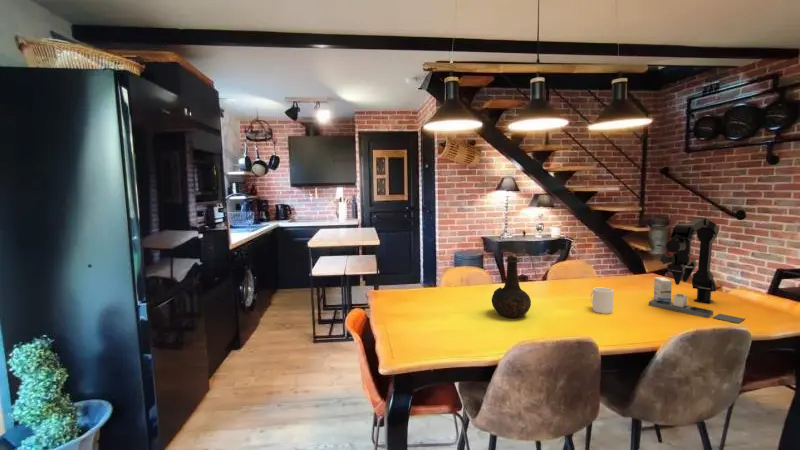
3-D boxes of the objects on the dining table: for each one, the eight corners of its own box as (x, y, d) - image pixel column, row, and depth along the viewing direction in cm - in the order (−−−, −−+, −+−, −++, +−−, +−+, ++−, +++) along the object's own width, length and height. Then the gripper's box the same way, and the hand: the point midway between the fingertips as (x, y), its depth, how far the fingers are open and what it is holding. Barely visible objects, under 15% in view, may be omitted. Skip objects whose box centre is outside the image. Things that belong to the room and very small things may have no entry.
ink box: (671, 303, 194) (672, 281, 193) (660, 303, 195) (661, 280, 194) (663, 299, 203) (664, 277, 202) (653, 298, 204) (654, 276, 203)
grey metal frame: (654, 302, 196) (654, 299, 196) (712, 314, 177) (713, 310, 176) (648, 305, 192) (648, 301, 192) (707, 317, 173) (708, 313, 172)
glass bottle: (503, 306, 193) (504, 251, 191) (537, 314, 180) (538, 255, 178) (484, 315, 181) (484, 256, 178) (518, 324, 168) (519, 261, 166)
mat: (719, 314, 177) (719, 313, 177) (744, 319, 170) (744, 318, 170) (712, 318, 172) (712, 317, 172) (738, 323, 165) (738, 322, 165)
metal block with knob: (676, 308, 187) (676, 292, 186) (686, 310, 184) (687, 294, 183) (672, 309, 185) (673, 294, 184) (682, 312, 181) (683, 296, 181)
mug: (597, 305, 192) (598, 285, 191) (617, 313, 181) (617, 291, 180) (583, 307, 190) (583, 286, 189) (601, 315, 179) (602, 292, 178)
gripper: (671, 247, 194) (669, 277, 195) (655, 250, 183) (653, 282, 184) (697, 249, 185) (695, 281, 186) (683, 253, 174) (681, 287, 175)
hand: (680, 283), depth 183 cm, fingers open, 9 cm apart
